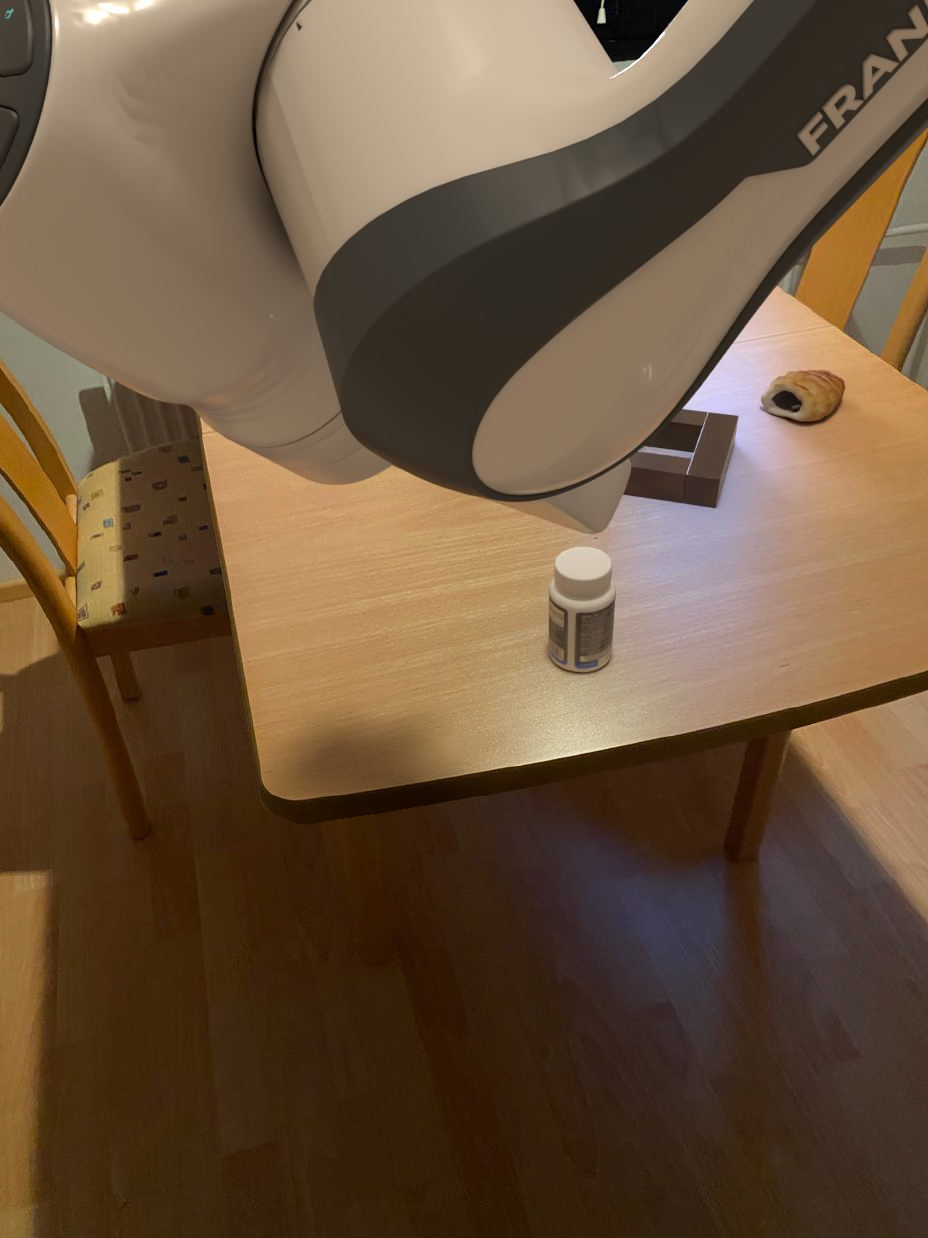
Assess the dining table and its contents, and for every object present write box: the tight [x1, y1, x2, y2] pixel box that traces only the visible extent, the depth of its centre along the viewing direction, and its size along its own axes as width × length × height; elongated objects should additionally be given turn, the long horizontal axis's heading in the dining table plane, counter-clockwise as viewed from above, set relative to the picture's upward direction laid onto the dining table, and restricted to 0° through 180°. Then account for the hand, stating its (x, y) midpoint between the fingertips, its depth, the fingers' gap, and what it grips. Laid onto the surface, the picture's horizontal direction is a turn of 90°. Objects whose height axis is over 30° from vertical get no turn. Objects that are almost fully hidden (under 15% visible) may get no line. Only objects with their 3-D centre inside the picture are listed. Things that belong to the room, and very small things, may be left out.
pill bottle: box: [548, 546, 617, 673], centre depth 67 cm, size 5×5×8 cm
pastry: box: [760, 369, 846, 423], centre depth 98 cm, size 9×7×4 cm
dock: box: [623, 408, 740, 508], centre depth 90 cm, size 13×13×3 cm
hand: (480, 474), depth 49 cm, fingers open, 8 cm apart
